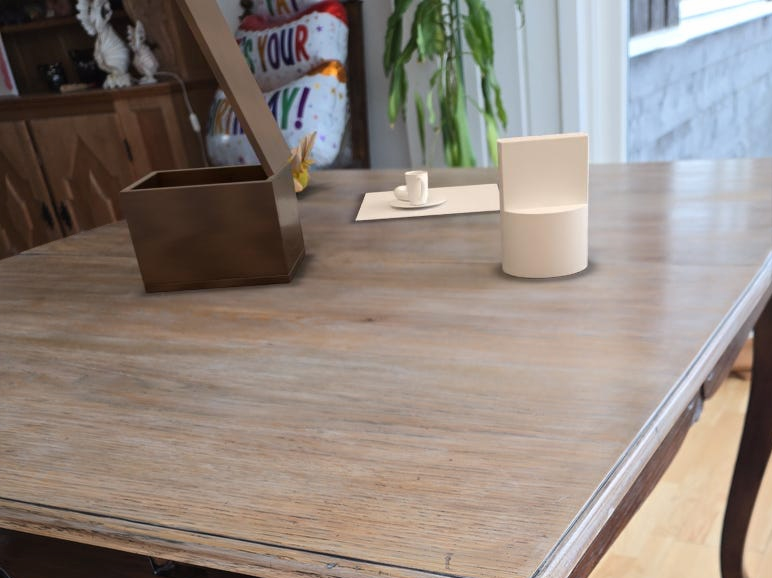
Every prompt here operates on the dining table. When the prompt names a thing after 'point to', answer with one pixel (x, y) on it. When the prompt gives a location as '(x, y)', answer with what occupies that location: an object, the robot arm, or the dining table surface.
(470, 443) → the dining table surface
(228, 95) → the chest lid
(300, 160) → the decorative flower
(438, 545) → the dining table surface
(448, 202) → the teacup and saucer
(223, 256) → the chest
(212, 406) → the dining table surface
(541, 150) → the base with upright slab
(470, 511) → the dining table surface
